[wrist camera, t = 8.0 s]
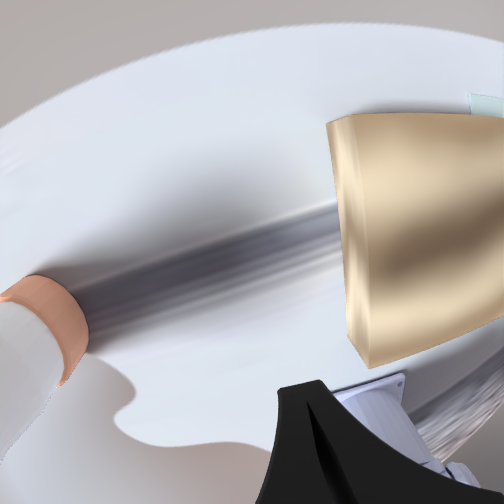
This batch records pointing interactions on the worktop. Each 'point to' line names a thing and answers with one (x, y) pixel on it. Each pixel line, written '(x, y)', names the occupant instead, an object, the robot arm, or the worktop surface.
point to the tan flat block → (419, 228)
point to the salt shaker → (35, 350)
